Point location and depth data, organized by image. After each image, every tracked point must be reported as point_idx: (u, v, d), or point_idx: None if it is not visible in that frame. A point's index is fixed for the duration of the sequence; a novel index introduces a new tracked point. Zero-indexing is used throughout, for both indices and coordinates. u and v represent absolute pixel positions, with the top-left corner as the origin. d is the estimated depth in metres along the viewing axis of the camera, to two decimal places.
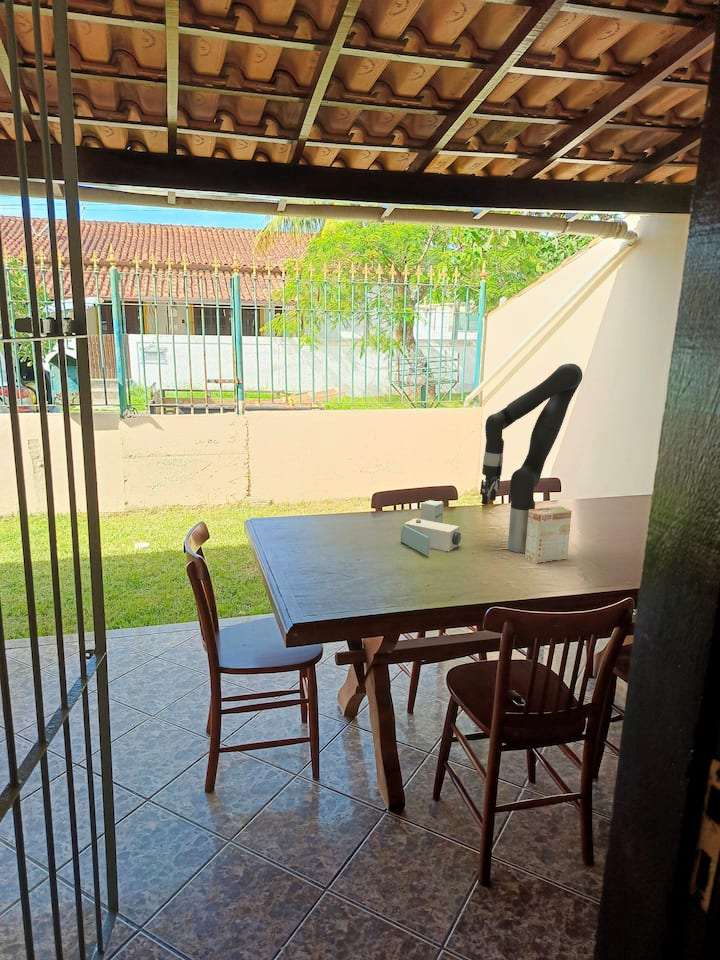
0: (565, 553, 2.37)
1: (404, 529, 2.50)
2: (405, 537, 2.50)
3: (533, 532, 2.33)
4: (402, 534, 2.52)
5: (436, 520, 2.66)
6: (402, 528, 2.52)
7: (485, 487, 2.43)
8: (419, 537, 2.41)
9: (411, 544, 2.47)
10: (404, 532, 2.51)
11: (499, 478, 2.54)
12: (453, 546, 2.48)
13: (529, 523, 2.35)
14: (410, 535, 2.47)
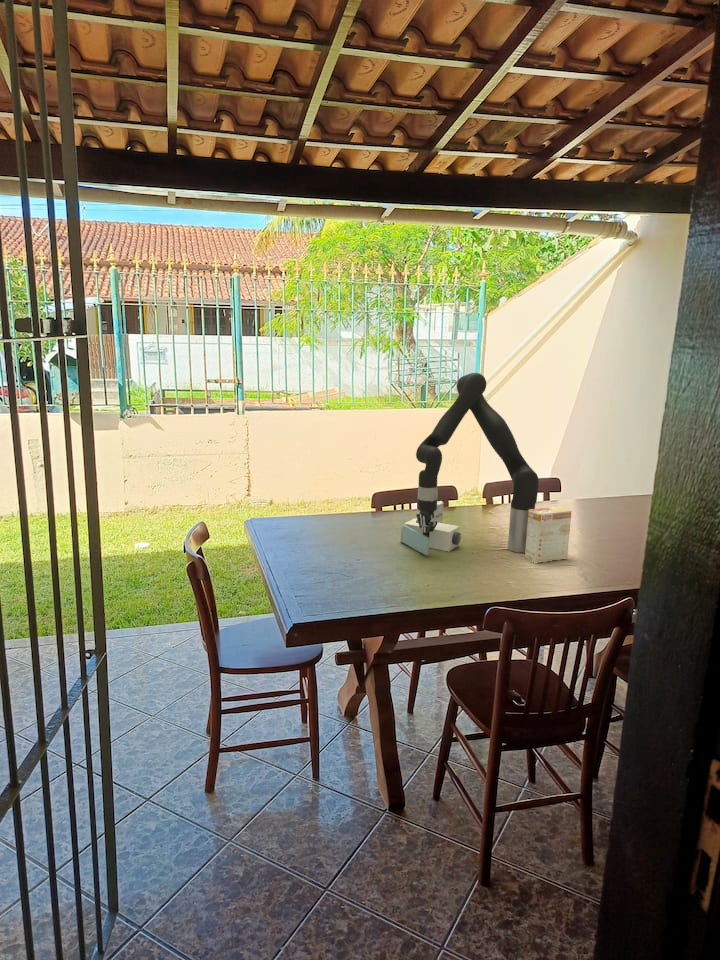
0: (565, 553, 2.37)
1: (404, 529, 2.50)
2: (405, 537, 2.50)
3: (533, 532, 2.33)
4: (402, 534, 2.52)
5: (436, 520, 2.66)
6: (402, 528, 2.52)
7: None
8: (419, 538, 2.41)
9: (411, 544, 2.47)
10: (404, 532, 2.51)
11: (430, 524, 2.34)
12: (453, 546, 2.48)
13: (529, 523, 2.35)
14: (410, 535, 2.47)
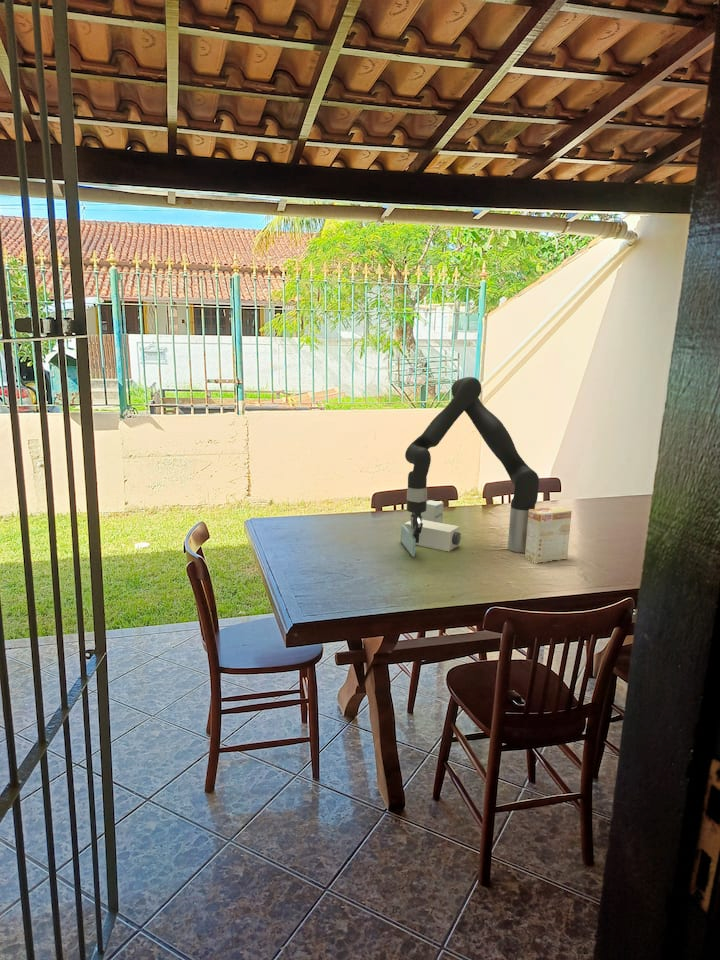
0: (565, 553, 2.37)
1: (402, 529, 2.50)
2: (403, 537, 2.50)
3: (533, 532, 2.33)
4: (401, 534, 2.52)
5: (436, 520, 2.66)
6: (401, 528, 2.52)
7: None
8: (409, 538, 2.40)
9: (405, 544, 2.46)
10: (402, 532, 2.50)
11: (415, 525, 2.32)
12: (453, 546, 2.48)
13: (529, 523, 2.35)
14: (405, 535, 2.46)
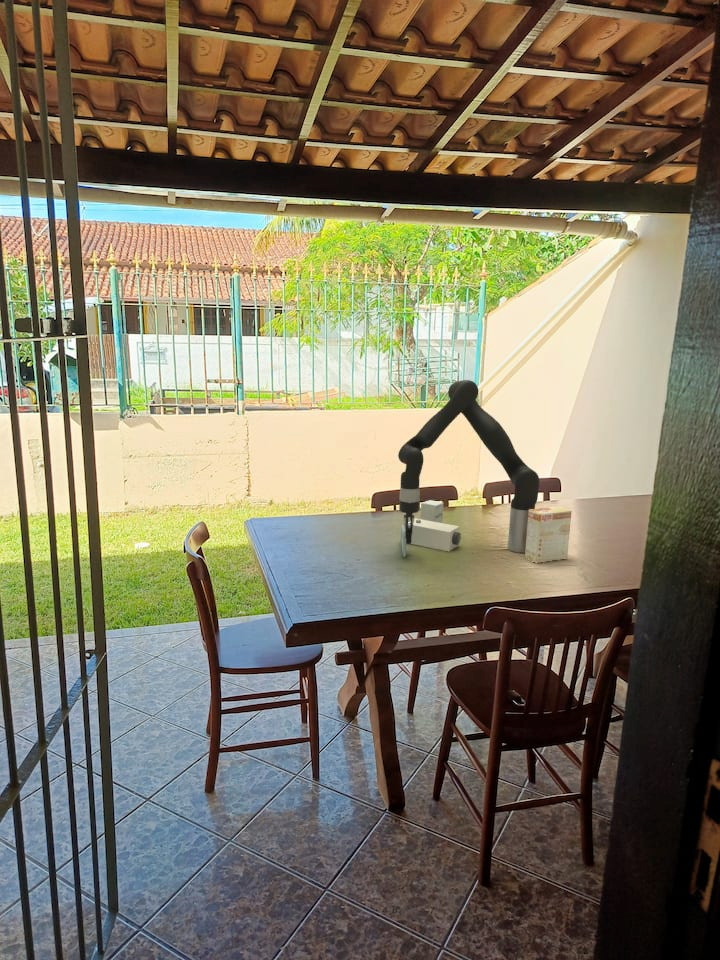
0: (565, 553, 2.37)
1: None
2: (401, 537, 2.50)
3: (533, 532, 2.33)
4: (401, 534, 2.52)
5: (436, 520, 2.66)
6: (401, 528, 2.52)
7: None
8: None
9: None
10: (401, 532, 2.51)
11: (405, 525, 2.32)
12: (453, 546, 2.48)
13: (529, 523, 2.35)
14: None
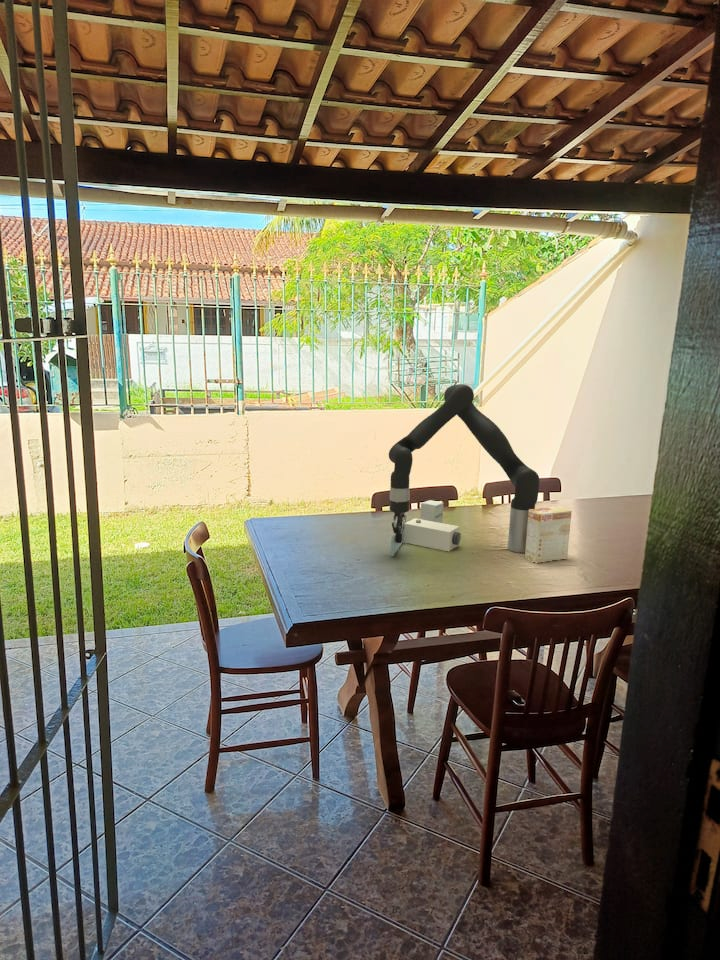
0: (565, 553, 2.37)
1: None
2: None
3: (533, 532, 2.33)
4: None
5: (436, 520, 2.66)
6: None
7: None
8: None
9: None
10: None
11: None
12: (453, 546, 2.48)
13: (529, 523, 2.35)
14: None
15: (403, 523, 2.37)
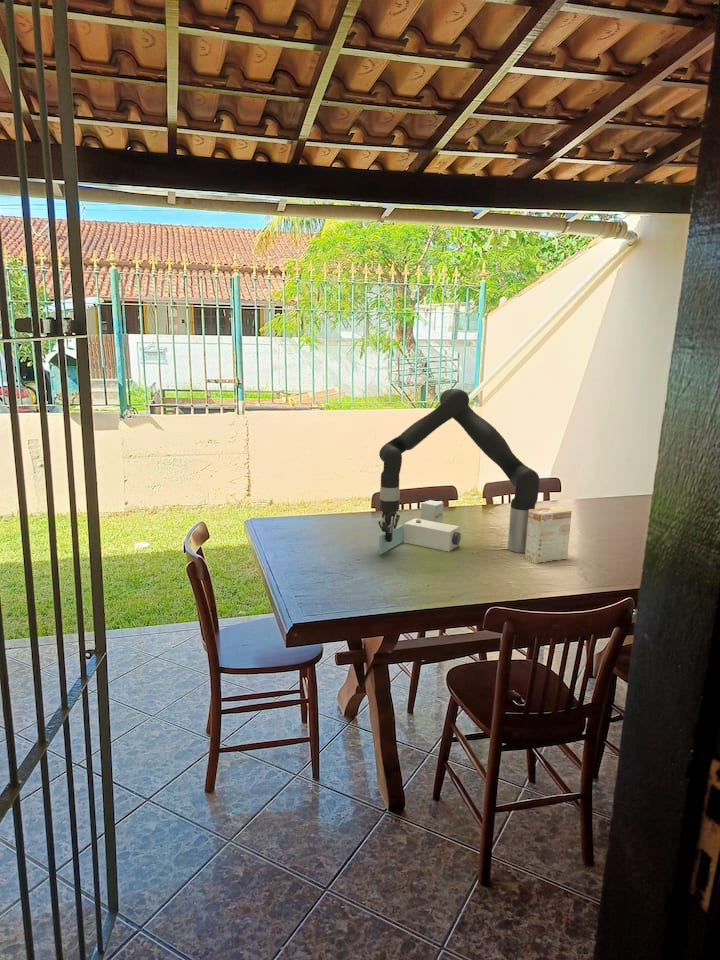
0: (565, 553, 2.37)
1: None
2: None
3: (533, 532, 2.33)
4: None
5: (436, 520, 2.66)
6: None
7: None
8: None
9: None
10: None
11: None
12: (453, 546, 2.48)
13: (529, 523, 2.35)
14: None
15: (393, 522, 2.37)
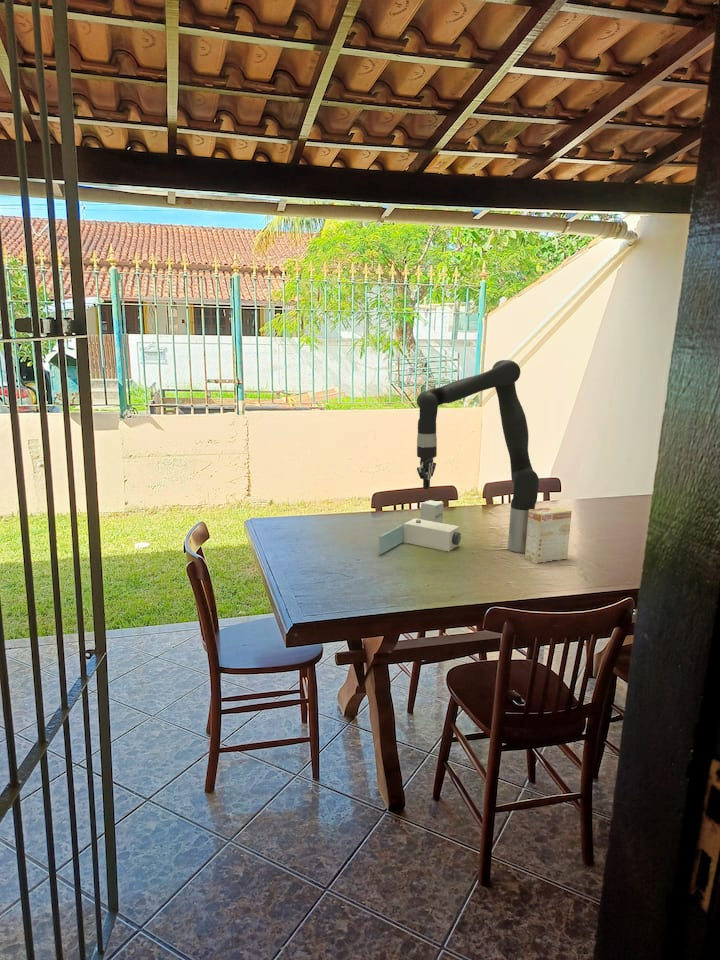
0: (565, 553, 2.37)
1: None
2: None
3: (533, 532, 2.33)
4: None
5: (436, 520, 2.66)
6: None
7: None
8: None
9: None
10: None
11: None
12: (453, 546, 2.48)
13: (529, 523, 2.35)
14: None
15: (430, 469, 2.40)
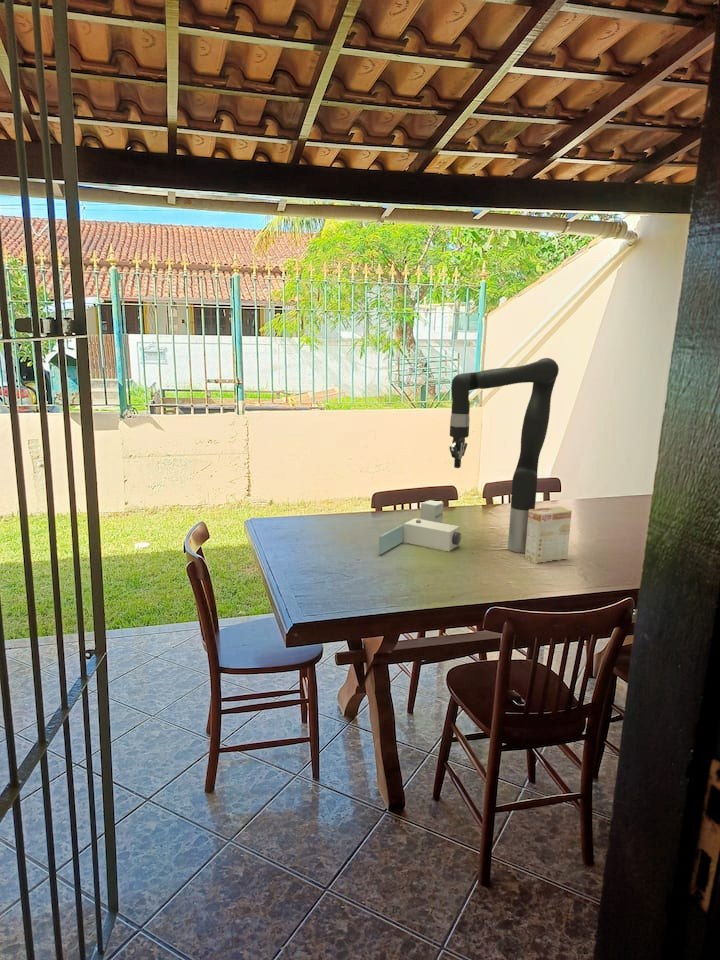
0: (565, 553, 2.37)
1: None
2: None
3: (533, 532, 2.33)
4: None
5: (436, 520, 2.66)
6: None
7: None
8: None
9: None
10: None
11: (450, 448, 2.45)
12: (453, 546, 2.48)
13: (529, 523, 2.35)
14: None
15: (462, 449, 2.48)
